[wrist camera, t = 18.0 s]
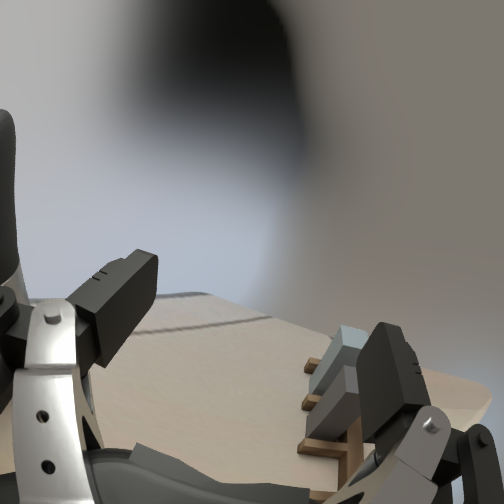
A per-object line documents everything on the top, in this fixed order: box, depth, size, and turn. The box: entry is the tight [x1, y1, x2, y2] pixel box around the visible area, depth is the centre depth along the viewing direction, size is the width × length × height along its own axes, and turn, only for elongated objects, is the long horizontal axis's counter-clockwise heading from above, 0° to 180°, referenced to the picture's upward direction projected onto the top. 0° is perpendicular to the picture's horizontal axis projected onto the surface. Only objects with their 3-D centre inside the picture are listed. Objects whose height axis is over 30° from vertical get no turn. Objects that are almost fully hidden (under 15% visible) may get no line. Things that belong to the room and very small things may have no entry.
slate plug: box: [309, 325, 368, 396], centre depth 37 cm, size 4×4×12 cm
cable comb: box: [297, 357, 364, 504], centre depth 32 cm, size 8×24×2 cm, turn 170°
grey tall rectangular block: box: [305, 365, 361, 442], centre depth 30 cm, size 4×4×12 cm
